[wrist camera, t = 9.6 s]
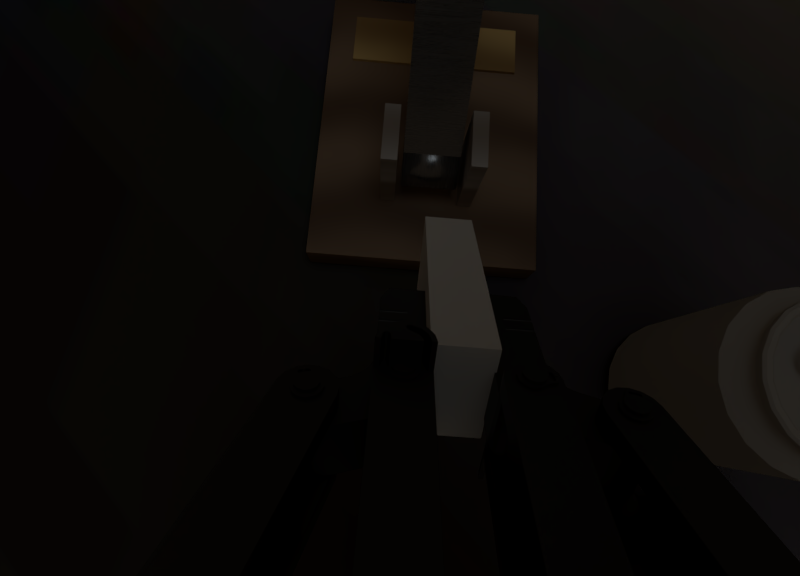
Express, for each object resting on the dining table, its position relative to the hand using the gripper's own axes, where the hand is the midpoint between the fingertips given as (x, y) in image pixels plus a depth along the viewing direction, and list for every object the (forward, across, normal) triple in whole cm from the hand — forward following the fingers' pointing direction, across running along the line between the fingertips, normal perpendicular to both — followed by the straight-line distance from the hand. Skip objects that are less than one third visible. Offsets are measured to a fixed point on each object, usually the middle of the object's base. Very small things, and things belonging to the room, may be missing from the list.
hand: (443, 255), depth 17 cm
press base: (+17, 0, -1) cm, 17 cm away
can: (+7, +15, -12) cm, 20 cm away
